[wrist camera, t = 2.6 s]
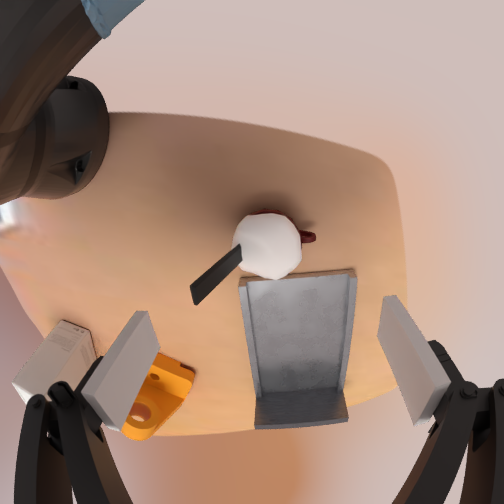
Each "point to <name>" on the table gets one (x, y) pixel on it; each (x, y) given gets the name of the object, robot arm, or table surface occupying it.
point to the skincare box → (56, 361)
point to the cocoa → (257, 250)
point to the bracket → (158, 397)
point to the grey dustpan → (299, 346)
